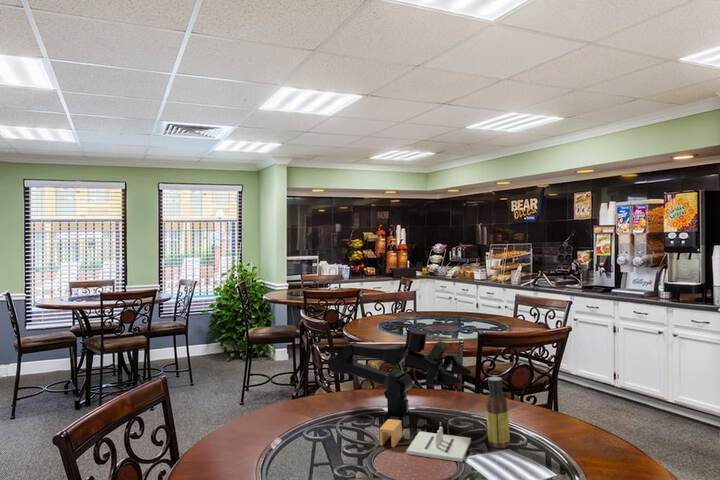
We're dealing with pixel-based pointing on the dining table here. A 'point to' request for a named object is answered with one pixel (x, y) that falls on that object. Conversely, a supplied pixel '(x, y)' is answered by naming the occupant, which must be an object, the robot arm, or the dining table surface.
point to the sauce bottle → (497, 415)
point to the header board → (439, 446)
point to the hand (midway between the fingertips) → (466, 376)
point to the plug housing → (391, 432)
